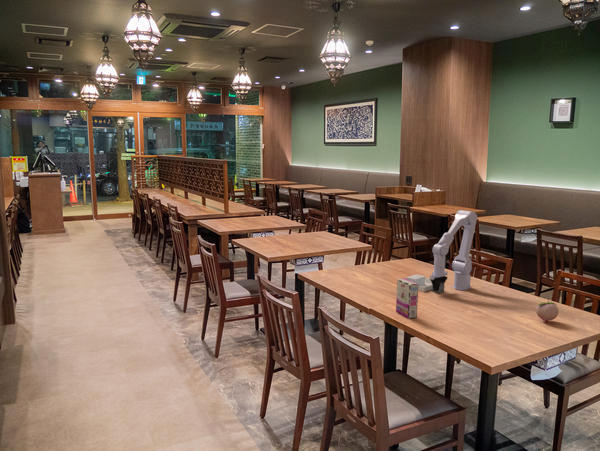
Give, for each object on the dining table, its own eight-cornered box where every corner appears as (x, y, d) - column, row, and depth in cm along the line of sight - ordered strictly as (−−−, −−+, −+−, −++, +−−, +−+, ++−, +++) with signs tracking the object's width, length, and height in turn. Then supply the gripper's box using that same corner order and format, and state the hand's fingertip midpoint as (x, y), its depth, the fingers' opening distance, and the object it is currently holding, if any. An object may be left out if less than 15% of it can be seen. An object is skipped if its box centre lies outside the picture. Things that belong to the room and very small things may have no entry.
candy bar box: (417, 318, 223) (419, 283, 221) (408, 319, 221) (409, 284, 219) (404, 310, 233) (405, 277, 231) (395, 311, 232) (396, 278, 229)
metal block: (436, 290, 266) (437, 280, 265) (443, 292, 263) (444, 282, 262) (432, 292, 263) (432, 281, 262) (439, 294, 260) (440, 283, 259)
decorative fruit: (545, 326, 213) (547, 304, 212) (531, 319, 221) (533, 298, 219) (562, 324, 216) (564, 302, 214) (548, 318, 224) (550, 297, 222)
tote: (417, 281, 286) (417, 276, 286) (441, 286, 275) (441, 281, 274) (399, 286, 274) (399, 281, 274) (424, 292, 262) (424, 287, 262)
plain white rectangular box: (415, 281, 282) (416, 274, 282) (424, 284, 278) (425, 276, 277) (406, 285, 276) (406, 277, 275) (414, 287, 271) (415, 279, 270)
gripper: (439, 262, 268) (438, 286, 270) (425, 266, 259) (424, 291, 261) (451, 264, 263) (450, 288, 265) (437, 269, 253) (436, 294, 256)
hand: (438, 290), depth 263 cm, fingers closed on metal block, 4 cm apart
